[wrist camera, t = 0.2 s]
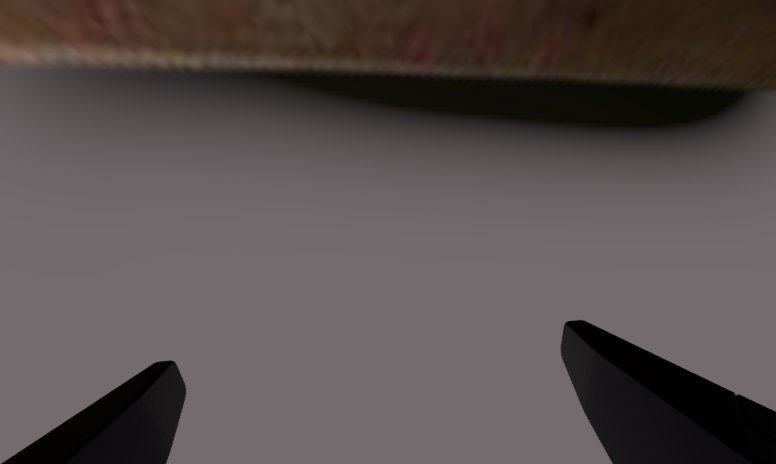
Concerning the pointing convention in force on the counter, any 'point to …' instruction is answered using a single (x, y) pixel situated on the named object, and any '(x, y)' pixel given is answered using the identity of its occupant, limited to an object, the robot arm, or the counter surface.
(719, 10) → the counter surface
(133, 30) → the counter surface
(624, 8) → the counter surface
